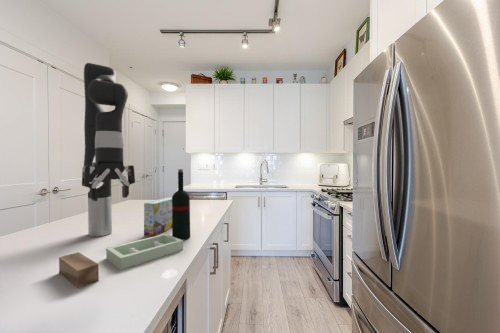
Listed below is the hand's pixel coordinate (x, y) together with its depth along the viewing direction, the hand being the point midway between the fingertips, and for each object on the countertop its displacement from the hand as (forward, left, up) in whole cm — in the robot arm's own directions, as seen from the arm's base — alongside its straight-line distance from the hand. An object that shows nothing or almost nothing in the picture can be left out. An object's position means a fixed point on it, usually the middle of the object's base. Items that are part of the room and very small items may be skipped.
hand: (110, 199), depth 74 cm
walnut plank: (-1, -8, -22) cm, 24 cm away
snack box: (-27, +32, -22) cm, 47 cm away
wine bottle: (-11, +32, -22) cm, 40 cm away
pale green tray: (-3, +13, -22) cm, 25 cm away
